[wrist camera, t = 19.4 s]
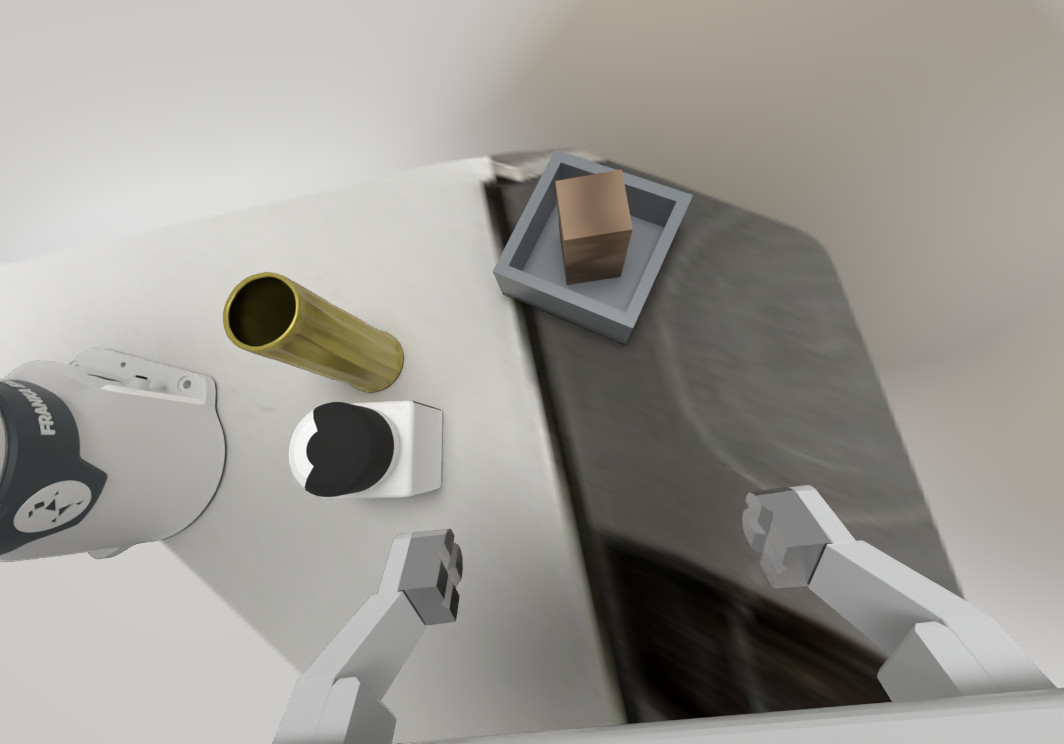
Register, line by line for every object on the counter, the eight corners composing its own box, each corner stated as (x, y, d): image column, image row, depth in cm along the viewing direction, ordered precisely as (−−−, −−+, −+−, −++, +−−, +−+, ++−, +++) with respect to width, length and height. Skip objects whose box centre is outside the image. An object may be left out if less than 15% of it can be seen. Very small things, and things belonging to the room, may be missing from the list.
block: (566, 285, 37) (564, 240, 29) (559, 236, 38) (555, 181, 30) (620, 276, 36) (632, 229, 29) (612, 228, 37) (621, 169, 30)
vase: (360, 323, 40) (243, 253, 26) (414, 343, 38) (322, 281, 25) (334, 379, 39) (197, 339, 25) (388, 401, 38) (277, 372, 24)
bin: (503, 294, 38) (492, 271, 34) (557, 186, 40) (555, 149, 35) (625, 345, 36) (632, 328, 31) (677, 228, 38) (692, 195, 33)
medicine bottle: (443, 409, 37) (381, 389, 25) (442, 488, 35) (376, 507, 24) (370, 412, 38) (277, 394, 26) (366, 490, 36) (266, 509, 24)
